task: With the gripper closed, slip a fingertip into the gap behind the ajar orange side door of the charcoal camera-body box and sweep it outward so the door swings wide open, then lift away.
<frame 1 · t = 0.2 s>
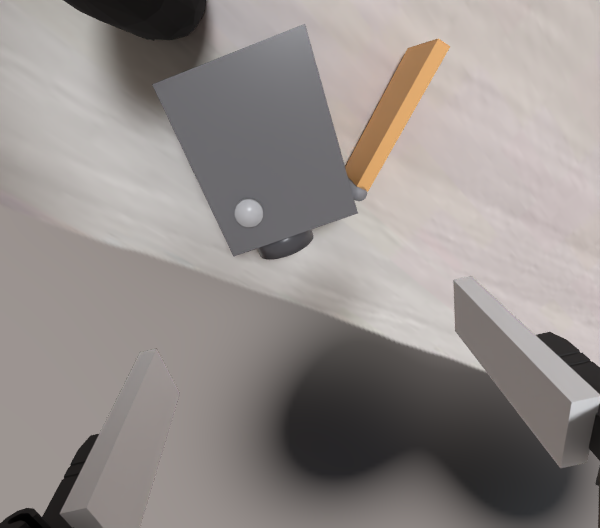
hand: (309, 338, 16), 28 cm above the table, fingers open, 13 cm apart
side door: (387, 126, 34), point 4 cm above the table, hinge at 45.0°
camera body: (266, 139, 38), on the table
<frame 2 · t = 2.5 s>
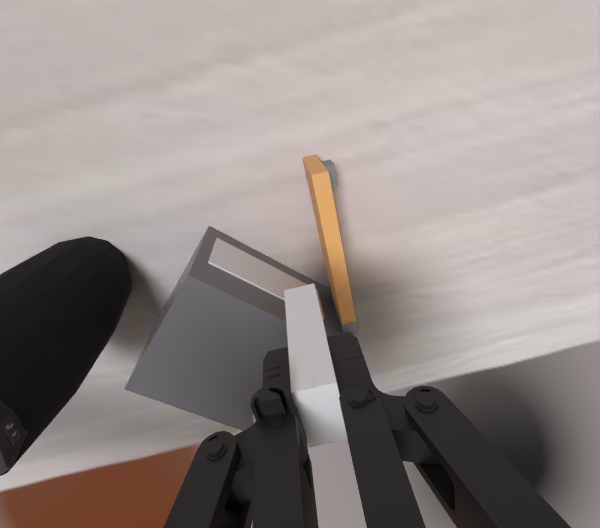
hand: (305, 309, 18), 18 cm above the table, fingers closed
side door: (334, 244, 31), point 5 cm above the table, hinge at 45.0°
portable speaker: (93, 271, 35), on the table
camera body: (248, 305, 38), on the table
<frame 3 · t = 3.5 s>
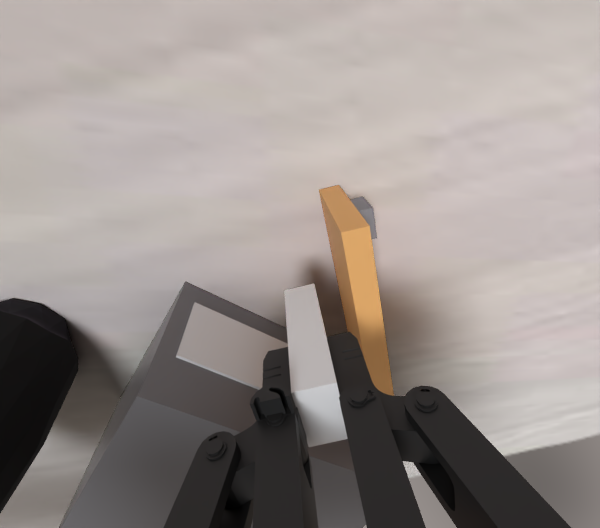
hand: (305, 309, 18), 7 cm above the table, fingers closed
side door: (365, 316, 21), point 4 cm above the table, hinge at 45.0°
portable speaker: (26, 341, 25), on the table
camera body: (241, 380, 28), on the table
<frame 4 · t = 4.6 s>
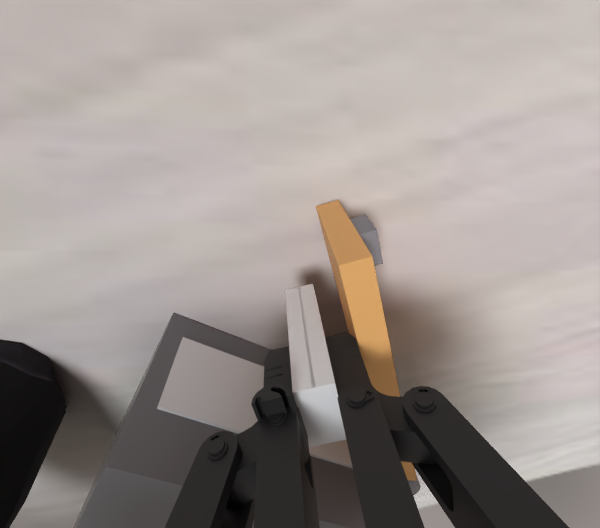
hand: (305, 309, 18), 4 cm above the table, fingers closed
side door: (374, 348, 19), point 4 cm above the table, hinge at 45.8°, touching gripper
portable speaker: (10, 382, 24), on the table
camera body: (243, 412, 26), on the table
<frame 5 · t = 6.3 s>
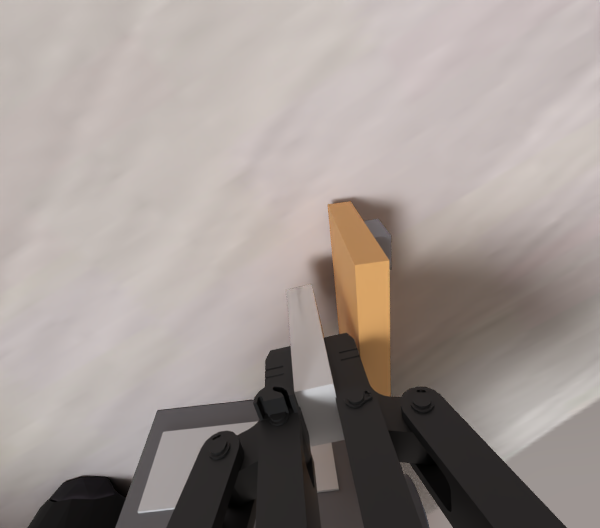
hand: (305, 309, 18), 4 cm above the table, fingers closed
side door: (366, 352, 19), point 4 cm above the table, hinge at 87.8°, touching gripper
portable speaker: (100, 501, 30), on the table
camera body: (271, 453, 29), on the table
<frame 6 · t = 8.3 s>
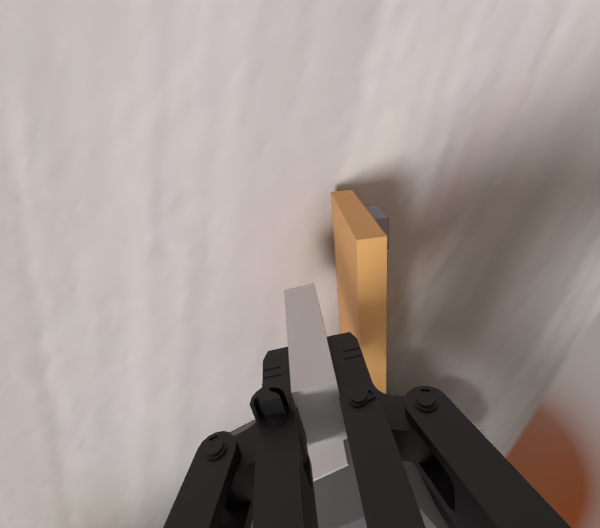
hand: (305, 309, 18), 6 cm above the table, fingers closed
side door: (364, 329, 20), point 4 cm above the table, hinge at 116.5°
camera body: (322, 444, 31), on the table
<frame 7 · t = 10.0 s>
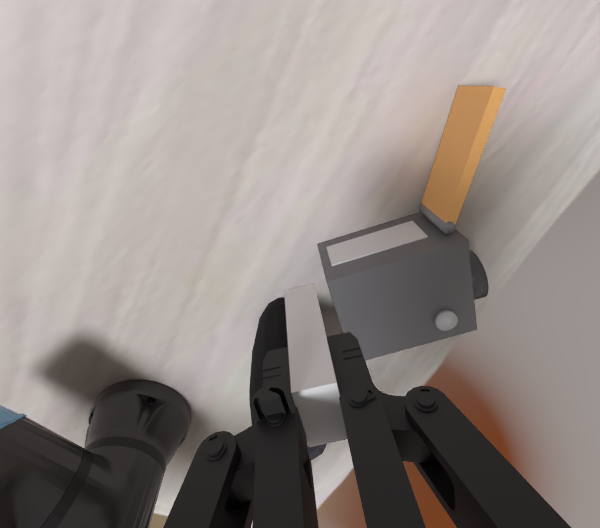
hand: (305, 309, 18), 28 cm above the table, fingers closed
side door: (458, 160, 38), point 5 cm above the table, hinge at 116.5°
portable speaker: (286, 318, 52), on the table
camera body: (382, 265, 49), on the table
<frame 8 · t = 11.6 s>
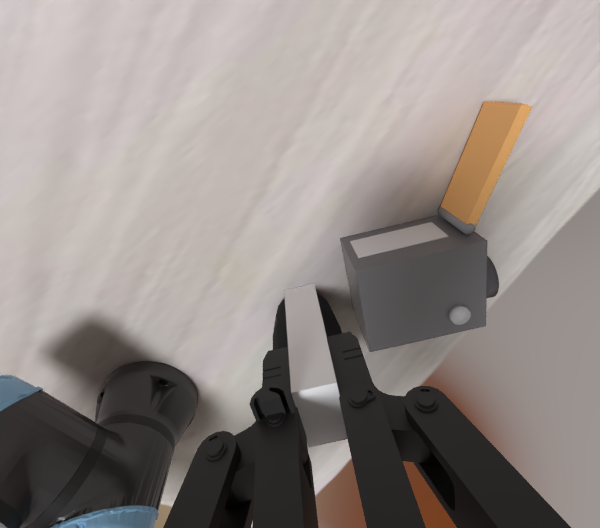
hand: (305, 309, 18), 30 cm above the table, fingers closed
side door: (480, 169, 42), point 5 cm above the table, hinge at 116.5°
portable speaker: (302, 308, 54), on the table
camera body: (397, 263, 52), on the table
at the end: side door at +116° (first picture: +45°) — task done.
